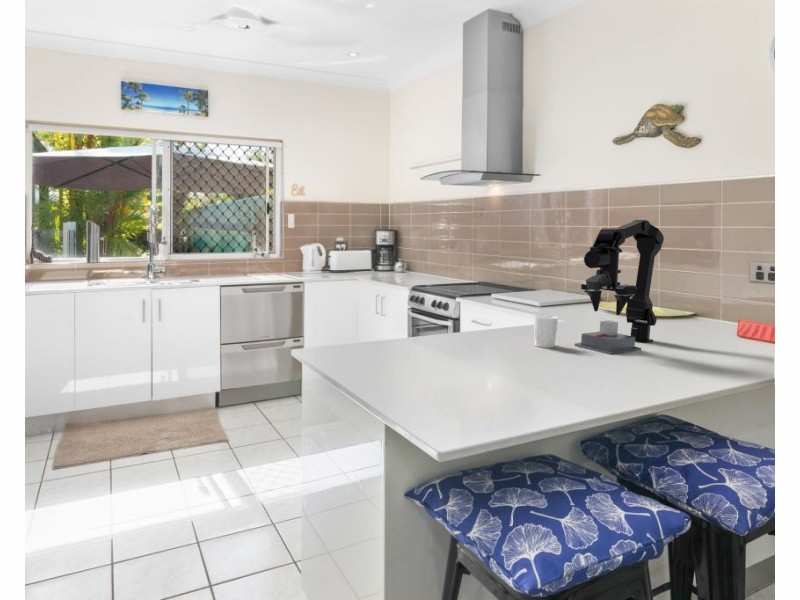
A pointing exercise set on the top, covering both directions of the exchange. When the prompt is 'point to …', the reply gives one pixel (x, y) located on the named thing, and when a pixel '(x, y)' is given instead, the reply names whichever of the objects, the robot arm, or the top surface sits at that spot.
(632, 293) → the robot arm
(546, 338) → the white cup
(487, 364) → the top surface
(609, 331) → the column
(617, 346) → the housing
